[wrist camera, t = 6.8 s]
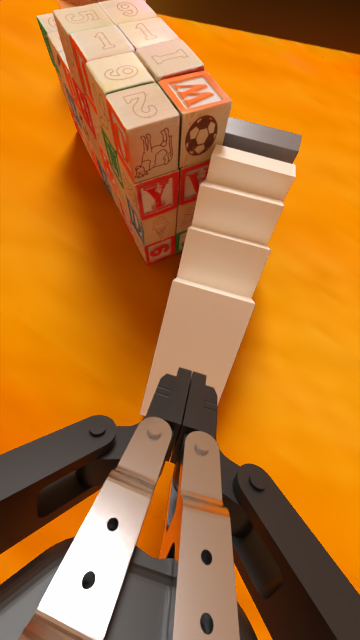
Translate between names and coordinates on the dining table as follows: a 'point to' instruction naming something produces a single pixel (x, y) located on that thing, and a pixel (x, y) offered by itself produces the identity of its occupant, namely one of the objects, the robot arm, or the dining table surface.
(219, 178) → the domino
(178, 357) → the domino
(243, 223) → the domino
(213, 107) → the stack of blocks
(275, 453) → the dining table surface
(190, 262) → the domino
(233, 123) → the domino
